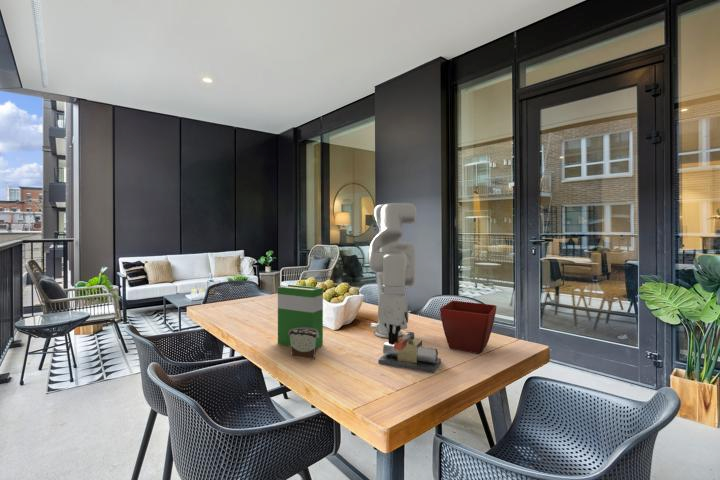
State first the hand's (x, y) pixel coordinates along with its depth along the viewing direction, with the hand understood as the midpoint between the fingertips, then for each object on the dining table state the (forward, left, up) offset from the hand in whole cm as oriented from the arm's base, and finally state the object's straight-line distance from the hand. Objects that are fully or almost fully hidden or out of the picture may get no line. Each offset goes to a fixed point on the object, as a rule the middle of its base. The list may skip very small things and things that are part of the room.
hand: (393, 343), depth 123 cm
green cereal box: (-45, +9, -10) cm, 47 cm away
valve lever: (+3, +3, 0) cm, 4 cm away
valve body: (+3, +9, -9) cm, 13 cm away
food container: (-35, -1, -10) cm, 36 cm away
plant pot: (+19, +37, -10) cm, 43 cm away
